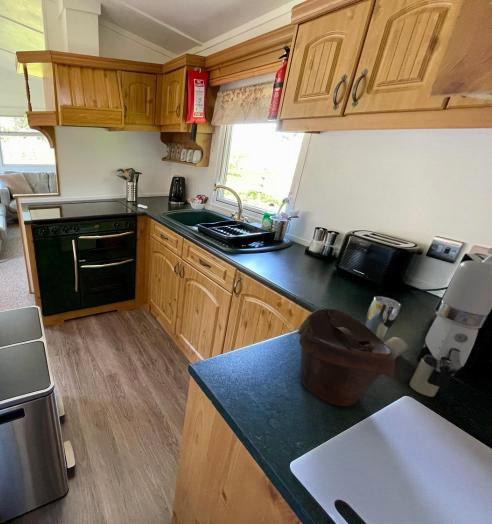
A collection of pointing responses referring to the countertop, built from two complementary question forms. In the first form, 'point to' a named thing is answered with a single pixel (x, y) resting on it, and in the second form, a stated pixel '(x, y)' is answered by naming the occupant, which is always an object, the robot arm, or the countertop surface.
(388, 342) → the salt shaker
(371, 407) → the countertop surface
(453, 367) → the robot arm
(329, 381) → the brown lidded pot
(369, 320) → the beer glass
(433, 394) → the pepper shaker
